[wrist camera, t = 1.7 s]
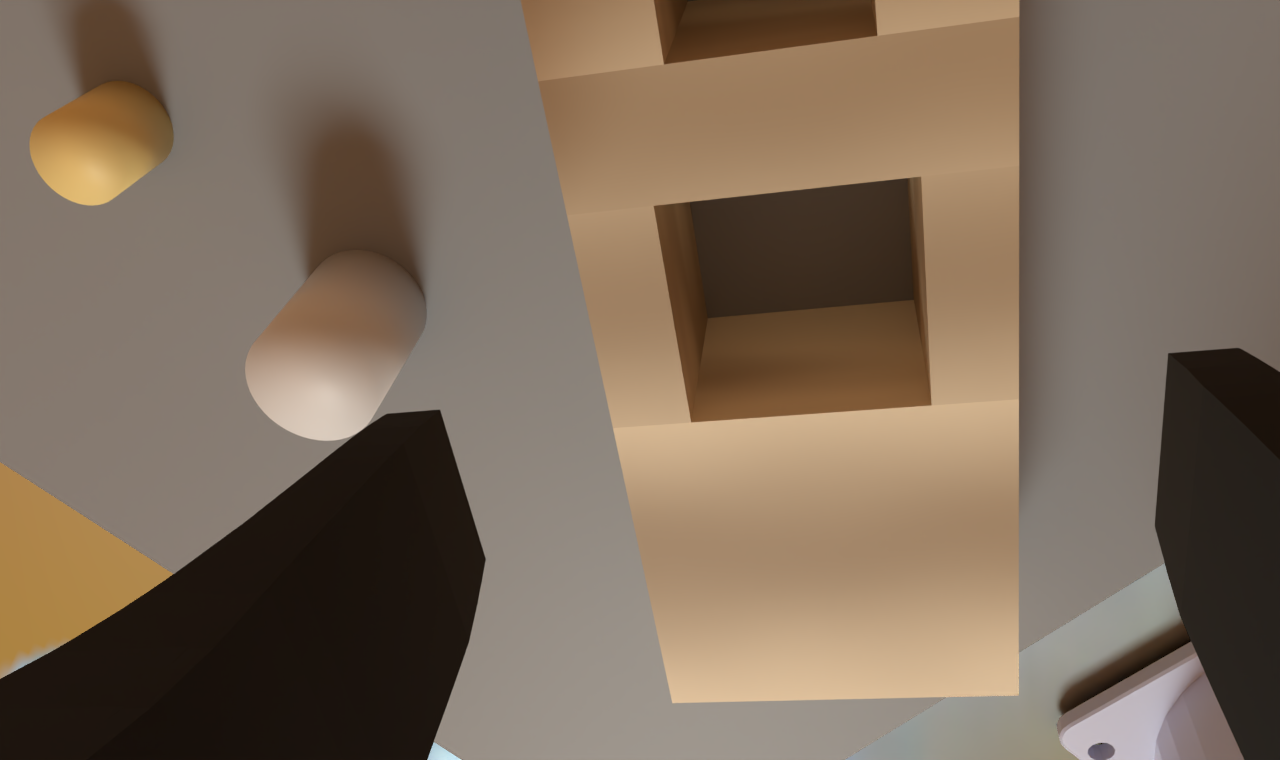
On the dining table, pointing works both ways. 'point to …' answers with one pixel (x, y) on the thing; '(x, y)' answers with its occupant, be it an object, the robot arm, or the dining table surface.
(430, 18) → the board
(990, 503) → the tan block
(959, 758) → the dining table surface
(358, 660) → the robot arm
